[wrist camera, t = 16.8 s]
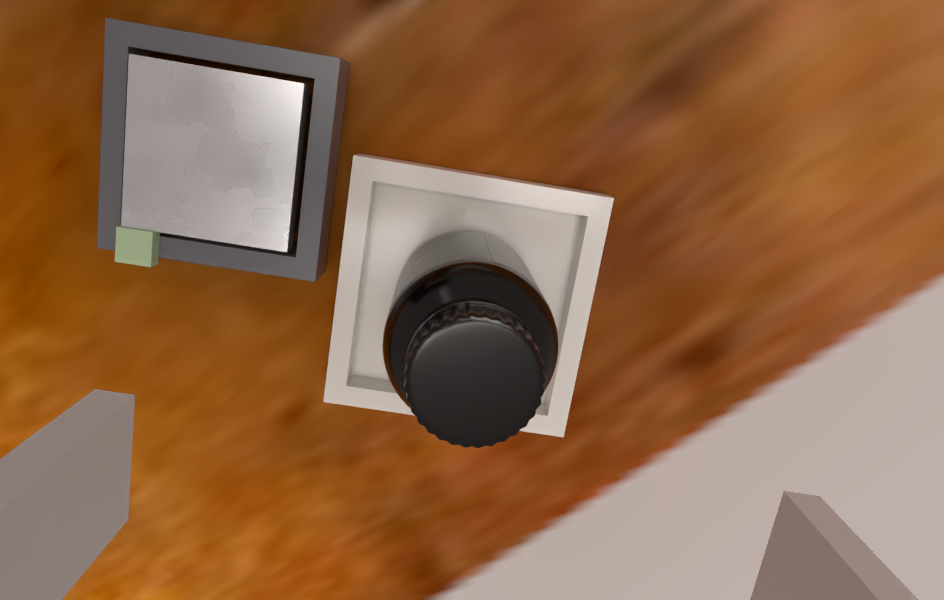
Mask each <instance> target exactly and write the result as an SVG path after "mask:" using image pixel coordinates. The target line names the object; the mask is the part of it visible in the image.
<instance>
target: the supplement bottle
mask: <svg viewBox="0 0 944 600" xmlns="http://www.w3.org/2000/svg"><path fill="white" fill-rule="evenodd" d="M558 347H559V342H558V332H557V327H556V324H555V320H554V317H553V314H552V312H551V309H550V307H549V305H548V303H547V301H546V300H545V298H544V296H543V294H542V293H541V291H540V289H539V287H538V286H537V284H536V282H535V280H534V279H533V277H532V275H531V273H530V272H529V270H528V268H527V267H526V265H525V264H524V262H523V261H522V259H521V258H520V257H519V256H518V255H517V253H516V252H515V251H514V250H513V249H511V248H510V247H509V246H508V245H506V244H505V243H503V242H502V241H500V240H498V239H496V238H494V237H492V236H489V235H486V234H483V233H479V232H472V231H459V232H452V233H447V234H444V235H441V236H438V237H436V238H434V239H432V240H430V241H428V242H427V243H425V244H424V245H422V246H421V247H420V248H419V249H418V250H417V251H416V252H415V253H414V254H413V255H412V256H411V257H410V258H409V260H408V261H407V263H406V264H405V266H404V268H403V269H402V271H401V274H400V276H399V279H398V281H397V285H396V288H395V292H394V295H393V299H392V302H391V306H390V309H389V313H388V316H387V320H386V323H385V327H384V333H383V359H384V365H385V369H386V372H387V375H388V378H389V380H390V382H391V384H392V386H393V388H394V389H395V391H396V393H397V394H398V395H399V397H400V398H401V399H402V401H403V402H404V403H405V404H406V405H407V406H408V407H409V408H410V409H411V412H412V413H413V414H414V415H415V416H416V417H417V419H418V422H419V423H420V424H421V425H423V426H425V427H426V429H427V431H428V432H429V433H431V434H435V435H436V436H437V438H438V439H439V440H445V441H448V442H449V443H450V444H452V445H461V446H463V447H471V446H473V447H476V448H480V447H483V446H493V445H495V444H496V443H497V442H504V441H506V440H507V439H508V438H509V437H510V436H514V435H517V433H518V432H519V430H520V429H522V428H524V427H526V426H527V424H528V422H529V420H530V419H532V418H533V417H534V416H535V414H536V409H537V408H538V407H539V406H540V405H541V397H542V396H543V394H544V392H545V390H546V388H547V387H548V385H549V383H550V381H551V379H552V376H553V374H554V371H555V367H556V363H557V358H558Z"/></svg>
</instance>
